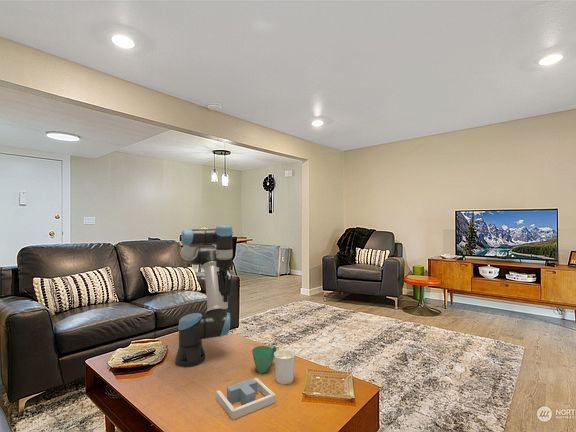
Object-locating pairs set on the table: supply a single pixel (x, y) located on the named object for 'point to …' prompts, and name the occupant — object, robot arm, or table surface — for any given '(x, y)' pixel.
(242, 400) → the t block
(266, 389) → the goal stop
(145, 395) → the table surface
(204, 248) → the robot arm
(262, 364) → the mug
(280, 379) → the candle holder
